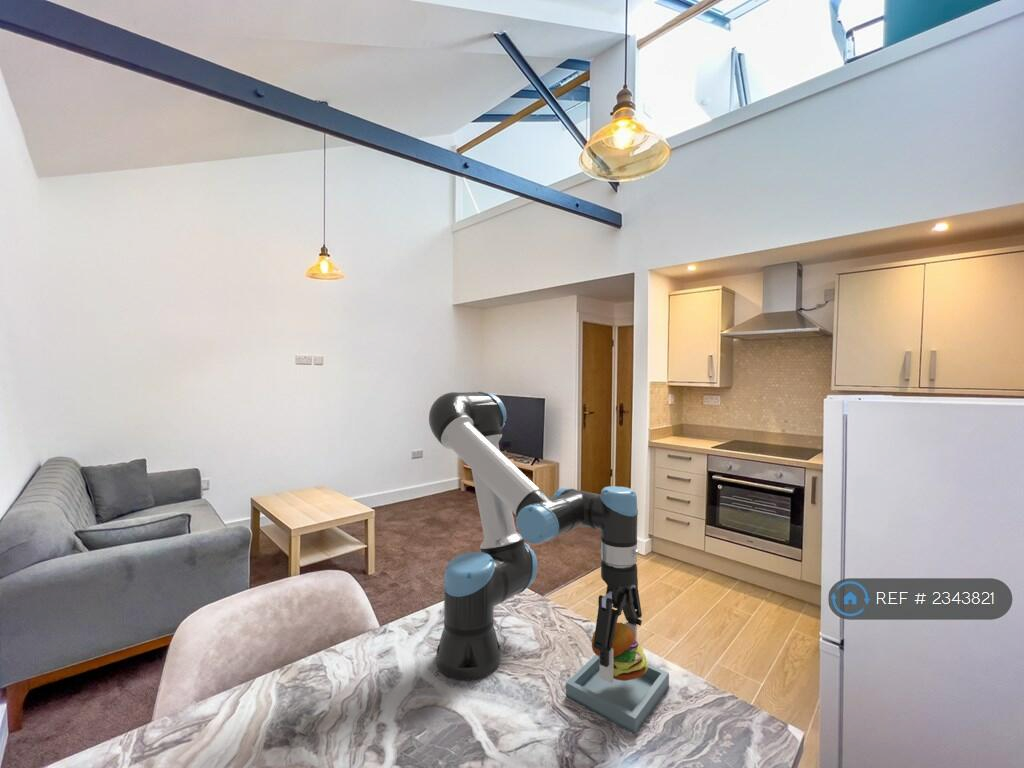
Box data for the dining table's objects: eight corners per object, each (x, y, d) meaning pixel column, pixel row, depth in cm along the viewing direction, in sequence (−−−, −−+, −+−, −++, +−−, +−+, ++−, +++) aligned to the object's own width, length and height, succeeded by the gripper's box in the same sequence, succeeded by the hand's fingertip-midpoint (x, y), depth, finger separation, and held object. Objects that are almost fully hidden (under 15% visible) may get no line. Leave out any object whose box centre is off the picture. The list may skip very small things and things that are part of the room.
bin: (566, 697, 91) (566, 682, 91) (605, 658, 104) (605, 645, 104) (635, 734, 81) (635, 718, 81) (668, 686, 94) (668, 672, 94)
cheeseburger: (652, 688, 86) (640, 637, 86) (599, 693, 88) (587, 644, 88) (647, 656, 96) (636, 611, 96) (599, 662, 98) (588, 618, 98)
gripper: (609, 585, 81) (609, 704, 81) (657, 550, 99) (657, 648, 99) (575, 574, 86) (575, 686, 86) (626, 542, 104) (626, 636, 104)
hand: (619, 666), depth 92 cm, fingers closed on cheeseburger, 10 cm apart
